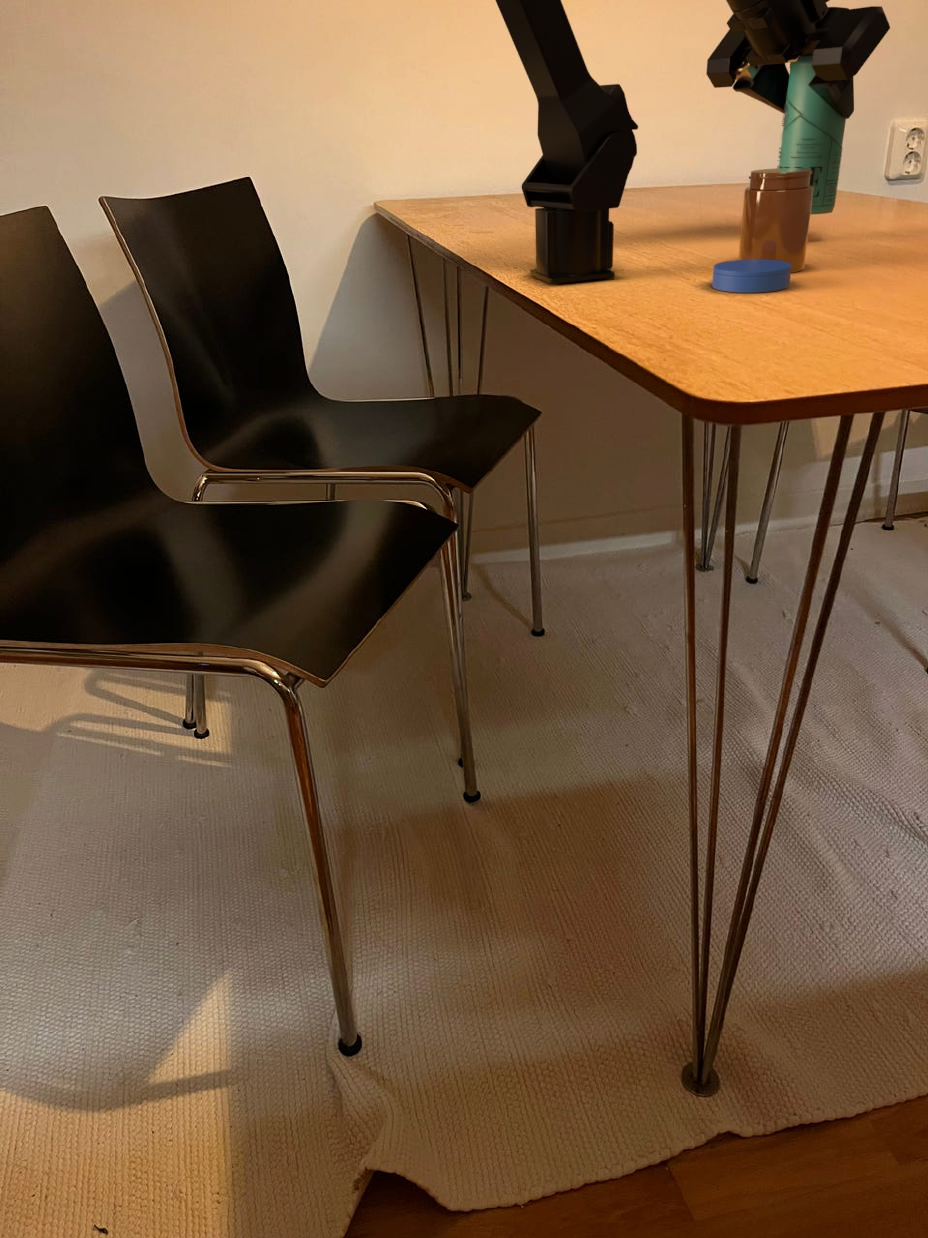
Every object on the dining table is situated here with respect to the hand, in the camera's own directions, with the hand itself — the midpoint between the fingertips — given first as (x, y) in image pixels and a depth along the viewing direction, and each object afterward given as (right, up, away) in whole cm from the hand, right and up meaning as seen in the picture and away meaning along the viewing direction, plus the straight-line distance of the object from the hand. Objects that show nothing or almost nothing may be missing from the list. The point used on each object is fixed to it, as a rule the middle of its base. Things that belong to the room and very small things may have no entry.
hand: (824, 115), depth 96 cm
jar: (-8, -19, -9) cm, 23 cm away
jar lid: (-13, -22, -16) cm, 30 cm away
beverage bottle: (-1, -10, +5) cm, 11 cm away
